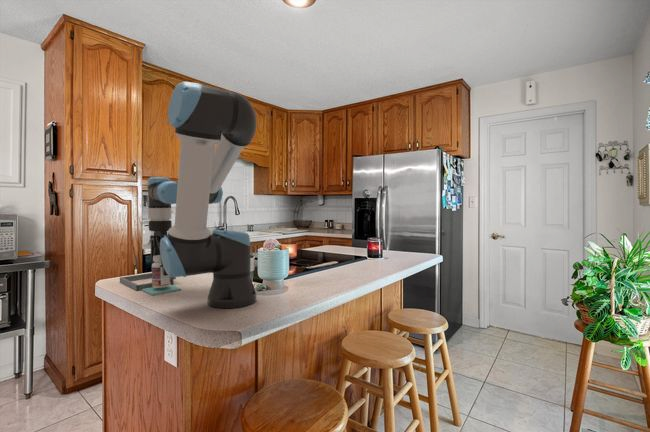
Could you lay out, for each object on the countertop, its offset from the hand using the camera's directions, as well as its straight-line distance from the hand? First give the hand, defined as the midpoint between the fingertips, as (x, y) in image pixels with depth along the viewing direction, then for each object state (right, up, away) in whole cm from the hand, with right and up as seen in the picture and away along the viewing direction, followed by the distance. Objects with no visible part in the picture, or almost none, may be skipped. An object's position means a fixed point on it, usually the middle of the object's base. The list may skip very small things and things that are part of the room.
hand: (161, 282), depth 123 cm
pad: (0, -3, 0) cm, 3 cm away
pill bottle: (0, -2, 0) cm, 2 cm away
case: (-12, -3, +11) cm, 16 cm away
